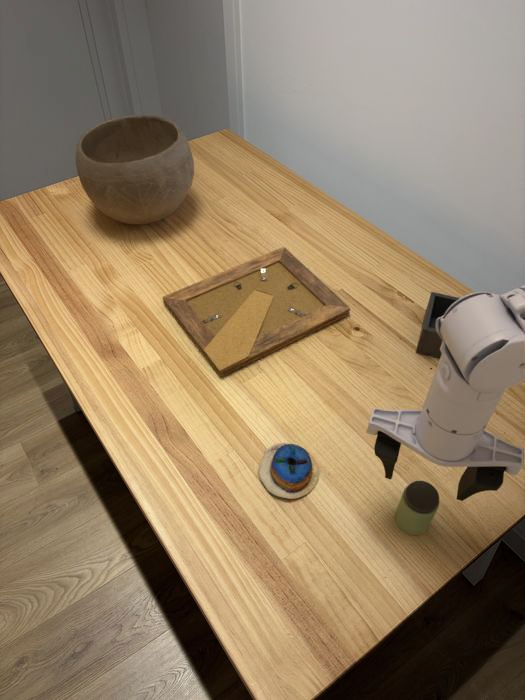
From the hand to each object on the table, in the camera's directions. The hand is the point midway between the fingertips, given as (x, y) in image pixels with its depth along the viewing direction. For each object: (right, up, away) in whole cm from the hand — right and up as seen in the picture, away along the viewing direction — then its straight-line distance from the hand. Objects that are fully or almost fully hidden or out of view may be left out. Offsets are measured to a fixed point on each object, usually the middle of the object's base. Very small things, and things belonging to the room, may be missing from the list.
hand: (424, 481), depth 60 cm
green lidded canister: (0, -6, +5) cm, 8 cm away
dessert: (-14, -1, +10) cm, 17 cm away
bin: (+11, +16, +24) cm, 31 cm away
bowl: (-41, +42, +48) cm, 75 cm away
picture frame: (-19, +21, +29) cm, 40 cm away
